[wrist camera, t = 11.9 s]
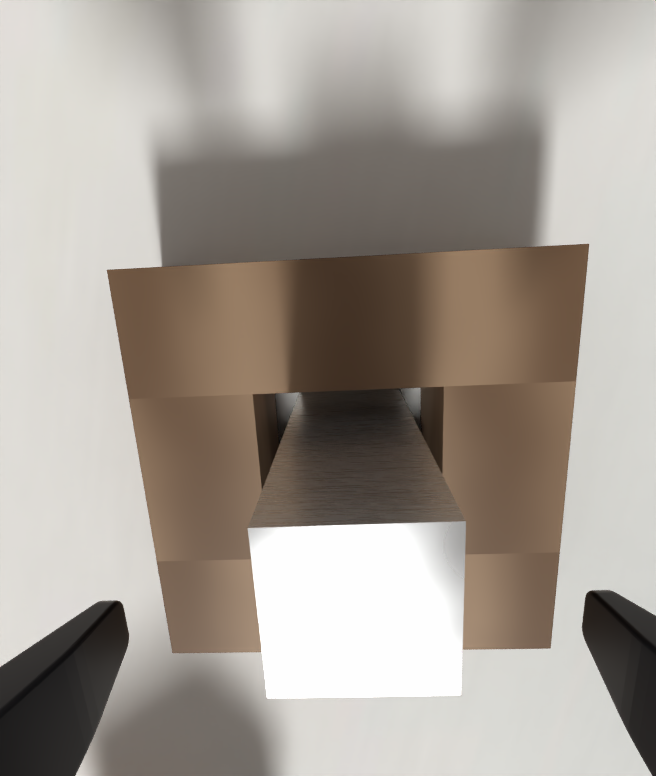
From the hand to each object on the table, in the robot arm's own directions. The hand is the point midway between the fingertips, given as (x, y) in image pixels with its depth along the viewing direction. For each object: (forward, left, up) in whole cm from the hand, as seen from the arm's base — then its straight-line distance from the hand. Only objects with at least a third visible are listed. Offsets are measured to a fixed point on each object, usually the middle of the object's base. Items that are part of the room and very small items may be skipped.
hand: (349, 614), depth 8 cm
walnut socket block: (0, 0, -10) cm, 10 cm away
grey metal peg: (0, 0, -10) cm, 10 cm away
